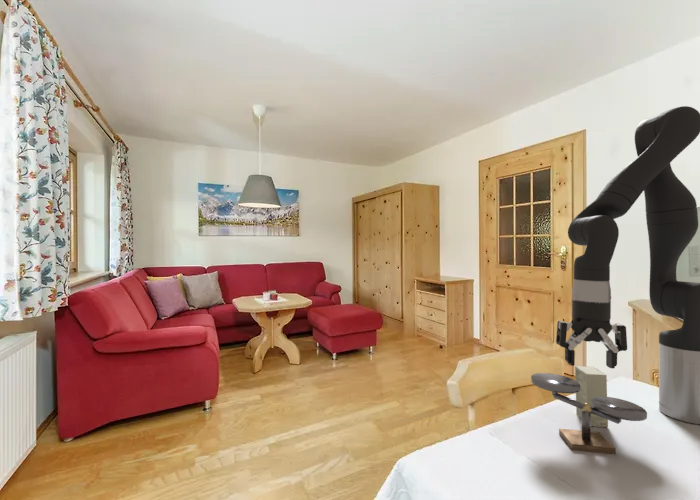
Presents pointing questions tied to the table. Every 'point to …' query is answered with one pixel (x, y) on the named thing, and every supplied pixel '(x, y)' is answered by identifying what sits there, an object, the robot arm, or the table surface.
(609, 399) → the balance
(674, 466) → the table surface
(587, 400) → the skincare box
